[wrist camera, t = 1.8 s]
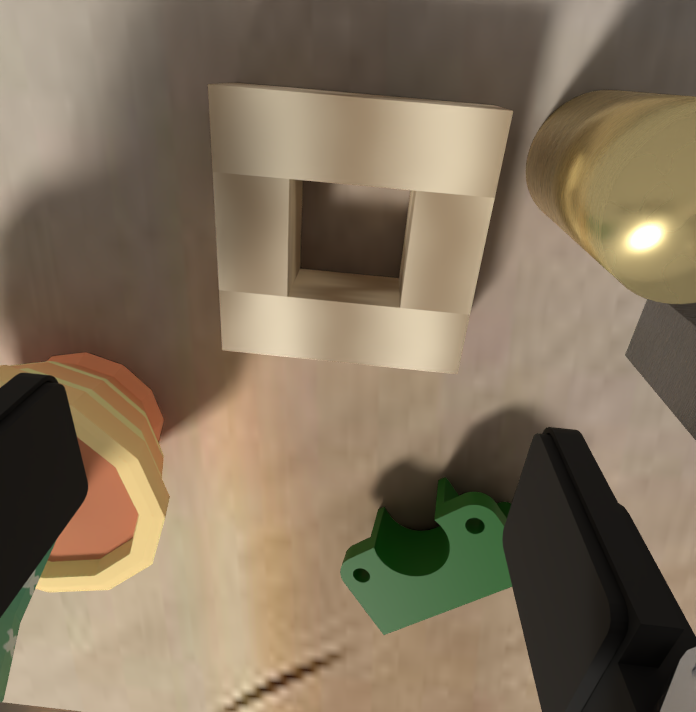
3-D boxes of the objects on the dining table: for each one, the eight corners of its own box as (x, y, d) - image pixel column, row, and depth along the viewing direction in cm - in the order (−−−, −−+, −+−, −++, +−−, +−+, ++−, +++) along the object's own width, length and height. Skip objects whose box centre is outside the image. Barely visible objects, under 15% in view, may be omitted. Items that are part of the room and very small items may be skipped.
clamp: (457, 440, 38) (508, 479, 29) (499, 502, 39) (562, 558, 30) (326, 535, 37) (338, 605, 28) (372, 596, 38) (397, 682, 29)
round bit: (680, 96, 22) (865, 111, 14) (632, 230, 25) (760, 312, 17) (544, 84, 23) (641, 91, 14) (512, 218, 25) (576, 294, 17)
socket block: (494, 105, 23) (513, 110, 20) (449, 338, 29) (457, 374, 25) (234, 82, 23) (207, 84, 20) (242, 317, 29) (222, 350, 26)
